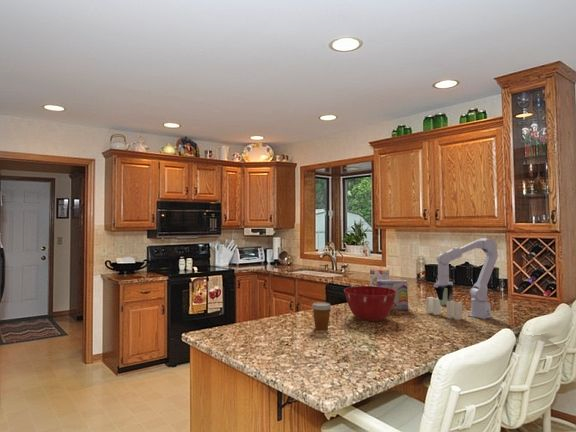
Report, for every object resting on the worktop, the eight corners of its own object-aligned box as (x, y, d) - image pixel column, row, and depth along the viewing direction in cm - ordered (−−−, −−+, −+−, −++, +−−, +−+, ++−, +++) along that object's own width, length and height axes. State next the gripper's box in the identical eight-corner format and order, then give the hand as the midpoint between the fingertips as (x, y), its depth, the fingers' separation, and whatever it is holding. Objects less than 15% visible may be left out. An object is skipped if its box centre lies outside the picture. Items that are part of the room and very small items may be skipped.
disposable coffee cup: (315, 331, 193) (315, 306, 193) (309, 326, 202) (309, 302, 202) (334, 329, 195) (333, 305, 196) (327, 325, 205) (326, 301, 205)
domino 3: (447, 304, 226) (447, 288, 226) (442, 305, 223) (441, 288, 223) (445, 303, 227) (445, 287, 227) (439, 304, 224) (439, 288, 225)
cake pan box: (375, 309, 243) (375, 280, 243) (375, 307, 248) (375, 278, 248) (408, 310, 238) (408, 281, 239) (407, 308, 243) (407, 279, 243)
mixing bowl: (398, 326, 203) (398, 295, 203) (342, 323, 208) (341, 293, 209) (395, 313, 230) (394, 286, 231) (345, 311, 236) (345, 285, 236)
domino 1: (434, 312, 233) (434, 297, 233) (428, 313, 230) (428, 297, 231) (431, 312, 235) (431, 296, 235) (426, 313, 232) (426, 297, 232)
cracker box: (369, 298, 278) (369, 268, 278) (376, 297, 280) (376, 267, 281) (382, 301, 265) (382, 270, 265) (389, 301, 268) (389, 269, 268)
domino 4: (454, 317, 222) (454, 300, 222) (449, 318, 219) (449, 301, 219) (452, 316, 223) (452, 300, 223) (446, 317, 220) (446, 301, 221)
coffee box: (450, 303, 261) (450, 278, 261) (453, 305, 254) (453, 279, 255) (435, 302, 262) (435, 278, 262) (438, 304, 255) (438, 279, 255)
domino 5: (462, 318, 218) (462, 302, 218) (456, 319, 215) (456, 303, 216) (459, 318, 219) (459, 301, 220) (454, 319, 217) (453, 302, 217)
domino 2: (440, 314, 229) (440, 298, 230) (435, 315, 227) (435, 299, 227) (438, 313, 231) (438, 297, 231) (432, 314, 228) (432, 298, 228)
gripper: (445, 273, 233) (445, 296, 232) (429, 275, 225) (429, 299, 225) (456, 274, 227) (456, 298, 226) (439, 276, 219) (440, 301, 219)
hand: (443, 299), depth 225 cm, fingers closed on domino 3, 5 cm apart
